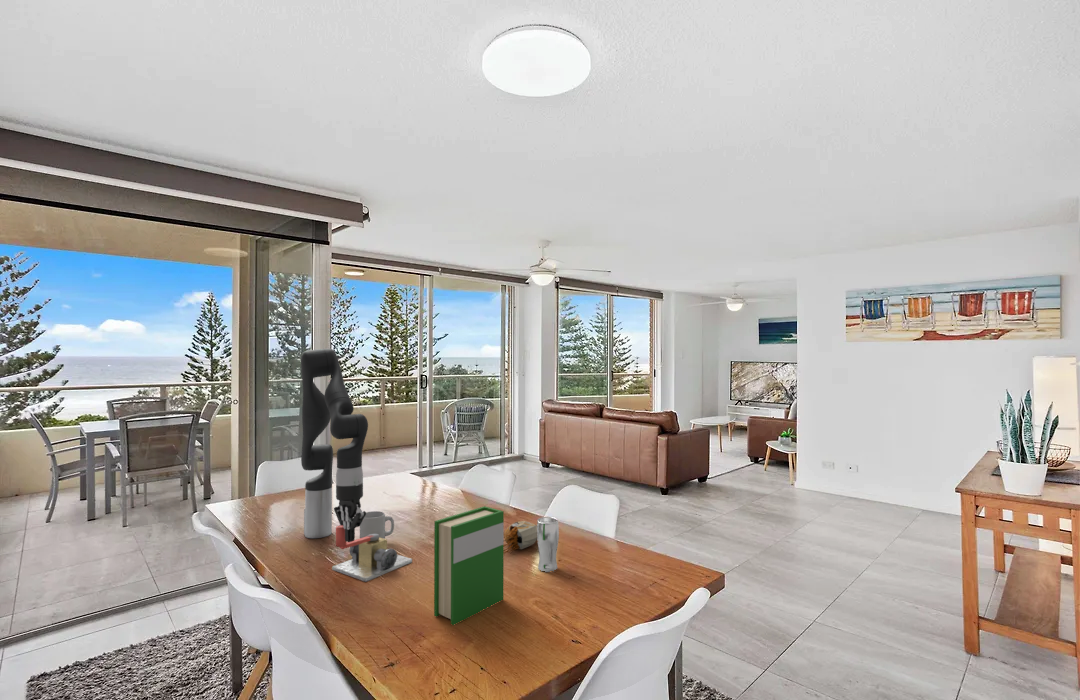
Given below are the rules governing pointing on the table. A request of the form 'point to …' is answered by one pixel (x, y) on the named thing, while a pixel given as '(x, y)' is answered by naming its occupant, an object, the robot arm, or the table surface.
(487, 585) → the hardback book
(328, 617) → the table surface
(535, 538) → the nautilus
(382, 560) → the valve body
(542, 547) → the beer glass
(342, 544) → the lever
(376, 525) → the mug
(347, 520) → the robot arm
